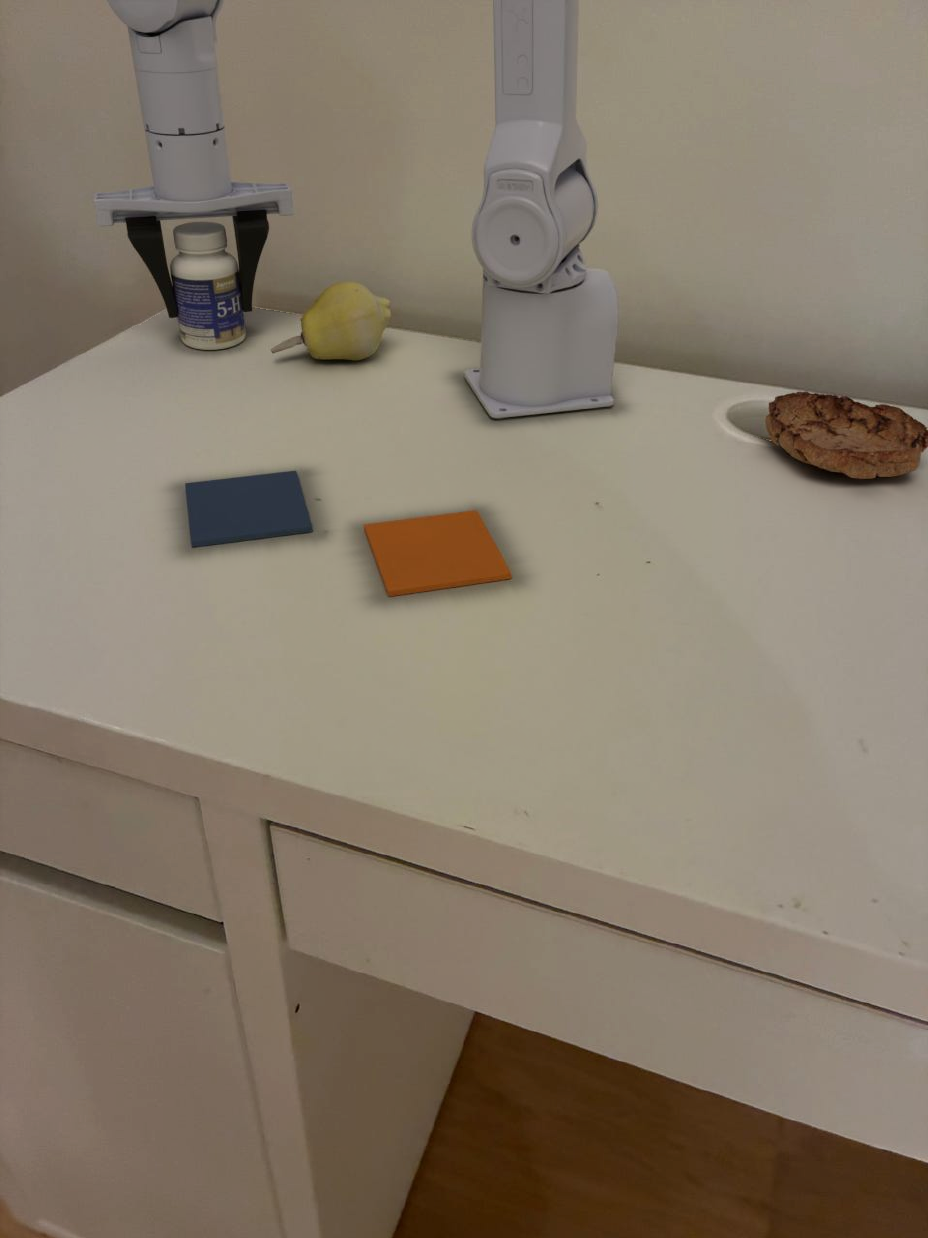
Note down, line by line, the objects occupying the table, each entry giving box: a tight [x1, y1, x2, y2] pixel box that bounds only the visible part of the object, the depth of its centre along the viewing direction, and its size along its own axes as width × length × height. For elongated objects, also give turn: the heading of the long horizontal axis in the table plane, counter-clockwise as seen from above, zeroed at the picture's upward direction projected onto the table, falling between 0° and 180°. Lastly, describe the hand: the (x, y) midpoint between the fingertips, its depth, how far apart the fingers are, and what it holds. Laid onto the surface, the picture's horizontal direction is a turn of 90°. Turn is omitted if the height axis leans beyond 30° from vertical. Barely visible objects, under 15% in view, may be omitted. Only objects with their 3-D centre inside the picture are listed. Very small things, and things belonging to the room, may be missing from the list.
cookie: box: [765, 390, 928, 480], centre depth 67 cm, size 10×11×3 cm
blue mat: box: [184, 470, 313, 548], centre depth 61 cm, size 7×7×1 cm
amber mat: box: [363, 509, 512, 597], centre depth 57 cm, size 7×7×1 cm
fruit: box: [270, 281, 392, 361], centre depth 78 cm, size 6×6×10 cm
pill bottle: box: [169, 221, 247, 351], centre depth 79 cm, size 5×5×9 cm
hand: (210, 310), depth 81 cm, fingers closed on pill bottle, 5 cm apart
